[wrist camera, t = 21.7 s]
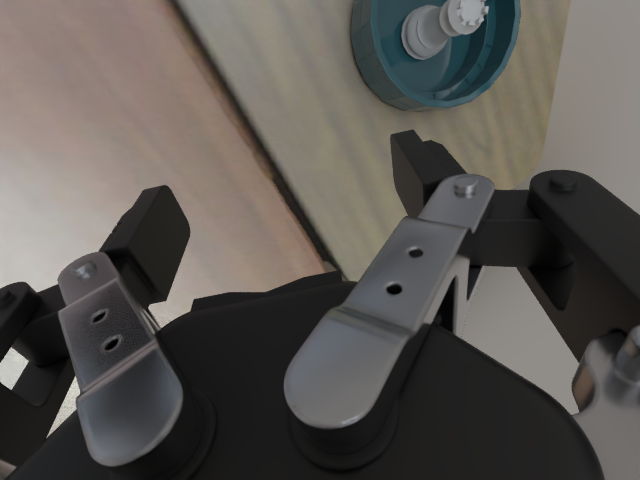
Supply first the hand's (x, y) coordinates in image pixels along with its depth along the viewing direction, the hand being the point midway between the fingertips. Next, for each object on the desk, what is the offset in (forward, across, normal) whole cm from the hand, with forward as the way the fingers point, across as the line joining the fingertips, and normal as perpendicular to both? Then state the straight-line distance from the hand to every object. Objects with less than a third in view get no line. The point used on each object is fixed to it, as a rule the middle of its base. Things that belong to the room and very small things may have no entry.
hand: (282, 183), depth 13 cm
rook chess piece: (+27, -13, +2) cm, 30 cm away
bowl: (+28, -13, +2) cm, 31 cm away
